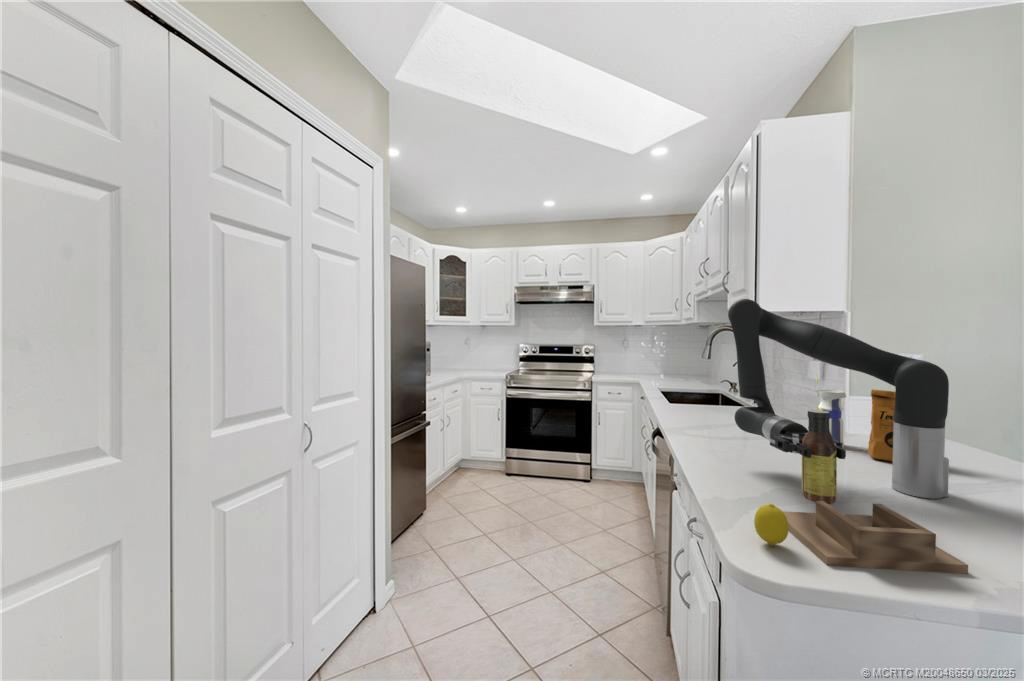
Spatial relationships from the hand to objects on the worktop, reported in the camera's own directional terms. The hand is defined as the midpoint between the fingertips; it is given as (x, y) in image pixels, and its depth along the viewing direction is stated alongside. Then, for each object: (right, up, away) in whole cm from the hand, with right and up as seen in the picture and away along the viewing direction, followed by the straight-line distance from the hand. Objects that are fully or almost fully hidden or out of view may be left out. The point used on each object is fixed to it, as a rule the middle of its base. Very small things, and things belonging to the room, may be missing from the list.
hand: (826, 454), depth 88 cm
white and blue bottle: (+44, -13, +56) cm, 72 cm away
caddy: (-1, -15, -9) cm, 17 cm away
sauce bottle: (0, -11, +3) cm, 11 cm away
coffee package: (+51, -13, +39) cm, 65 cm away
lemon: (-19, -15, -10) cm, 26 cm away
